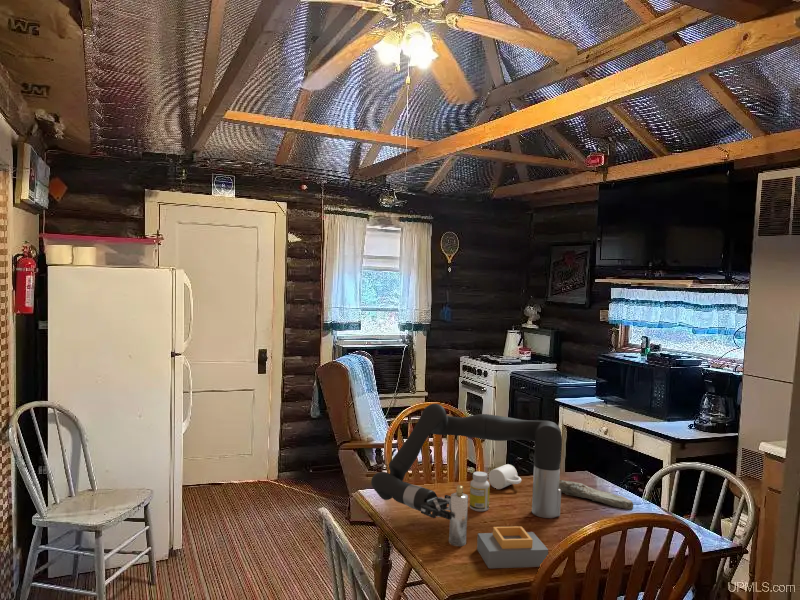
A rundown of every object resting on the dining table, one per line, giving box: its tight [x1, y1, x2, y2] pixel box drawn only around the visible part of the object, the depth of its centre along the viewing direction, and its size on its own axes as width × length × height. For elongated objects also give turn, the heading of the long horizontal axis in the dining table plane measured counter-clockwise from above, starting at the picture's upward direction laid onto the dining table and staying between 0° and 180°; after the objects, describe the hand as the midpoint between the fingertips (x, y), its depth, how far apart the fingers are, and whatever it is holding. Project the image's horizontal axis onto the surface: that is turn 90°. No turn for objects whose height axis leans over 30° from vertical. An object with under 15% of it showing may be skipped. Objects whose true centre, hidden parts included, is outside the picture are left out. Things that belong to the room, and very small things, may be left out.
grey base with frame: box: [476, 525, 549, 569], centre depth 173 cm, size 18×14×8 cm
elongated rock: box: [559, 479, 634, 510], centre depth 227 cm, size 35×5×10 cm
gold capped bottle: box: [448, 484, 469, 547], centre depth 181 cm, size 5×5×18 cm
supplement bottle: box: [469, 471, 491, 512], centre depth 210 cm, size 7×7×13 cm
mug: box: [488, 463, 522, 490], centre depth 234 cm, size 12×10×8 cm
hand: (459, 512), depth 181 cm, fingers open, 8 cm apart
